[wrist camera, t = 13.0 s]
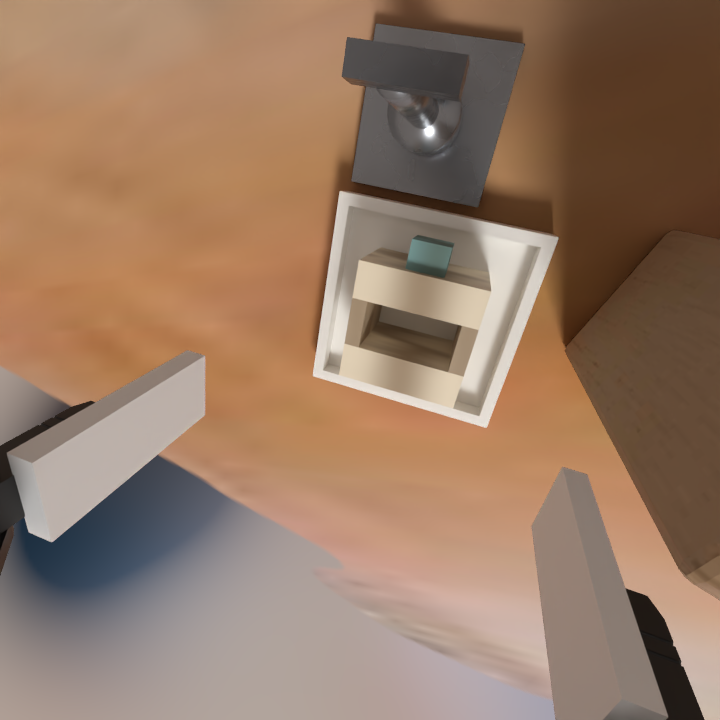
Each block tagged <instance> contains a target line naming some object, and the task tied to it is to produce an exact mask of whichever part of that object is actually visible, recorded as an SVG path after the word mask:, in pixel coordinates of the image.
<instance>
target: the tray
mask: <svg viewBox="0 0 720 720" xmlns="http://www.w3.org/2000/svg"><path fill="white" fill-rule="evenodd" d="M417 235H421V236H425V237H430V238H434V239H439V240H443V241H448V242H452V243H455V244H454V247H453V251H452V255H451V258H450V262H449V263H450V264H454V265H459V266H463V267H467V268H472V269H476V270H480V271H485V272H489V274H490V283H491V294H490V297H489V301H488V304H487V307H486V310H485V313H484V316H483V319H482V322H481V325H480V328H479V331H478V334H477V337H476V340H475V343H474V346H473V349H472V352H471V356H470V359H469V362H468V365H467V368H466V371H465V374H464V377H463V380H462V383H461V386H460V389H459V392H458V395H457V398H456V401H455V404H454V408H450V407H446V406H443V405H440V404H436V403H433V402H429V401H426V400H422V399H419V398H416V397H412V396H409V395H405V394H402V393H399V392H395V391H392V390H388V389H385V388H381V387H378V386H375V385H371V384H368V383H364V382H361V381H358V380H354V379H351V378H347V377H344V376H340V375H339V371H340V365H341V360H342V354H343V348H344V343H345V337H346V331H347V326H348V320H349V314H350V308H351V303H352V297H353V291H354V286H355V280H356V274H357V269H358V263H359V260H360V259H362V258H363V257H365V256H367V255H368V254H370V253H372V252H374V251H375V250H377V249H379V248H385V249H390V250H394V251H398V252H403V253H407V254H409V250H410V246H411V242H412V239H413V238H414V237H415V236H417ZM558 239H559V237H557V236H556V235H554V234H550V233H546V232H541V231H536V230H531V229H527V228H522V227H517V226H513V225H508V224H503V223H498V222H494V221H489V220H484V219H479V218H475V217H470V216H465V215H461V214H456V213H451V212H446V211H442V210H437V209H432V208H428V207H423V206H418V205H413V204H409V203H404V202H399V201H394V200H390V199H385V198H380V197H376V196H371V195H366V194H361V193H357V192H352V191H340V193H339V199H338V206H337V213H336V220H335V227H334V234H333V240H332V247H331V254H330V261H329V268H328V275H327V281H326V288H325V295H324V302H323V309H322V316H321V322H320V329H319V336H318V343H317V350H316V357H315V363H314V370H313V376H314V377H318V378H321V379H324V380H328V381H331V382H334V383H338V384H341V385H344V386H348V387H351V388H354V389H358V390H361V391H364V392H368V393H371V394H375V395H378V396H381V397H385V398H388V399H391V400H395V401H398V402H401V403H405V404H408V405H411V406H415V407H418V408H421V409H425V410H428V411H432V412H435V413H438V414H442V415H445V416H448V417H452V418H455V419H458V420H462V421H465V422H468V423H472V424H475V425H478V426H482V427H485V428H487V425H488V423H489V420H490V417H491V415H492V412H493V410H494V407H495V404H496V402H497V399H498V396H499V394H500V391H501V389H502V386H503V383H504V381H505V378H506V375H507V373H508V370H509V368H510V365H511V362H512V360H513V357H514V354H515V352H516V349H517V347H518V344H519V341H520V339H521V336H522V333H523V331H524V328H525V326H526V323H527V320H528V318H529V315H530V312H531V310H532V307H533V305H534V302H535V299H536V297H537V294H538V291H539V289H540V286H541V284H542V281H543V278H544V276H545V273H546V270H547V268H548V265H549V263H550V260H551V257H552V255H553V252H554V249H555V247H556V244H557V242H558ZM379 321H380V322H383V323H387V324H391V325H395V326H399V327H402V328H406V329H410V330H414V331H418V332H421V333H425V334H429V335H433V336H436V337H440V338H444V339H448V340H452V341H454V338H455V334H456V331H457V328H458V325H457V324H453V323H449V322H445V321H441V320H437V319H433V318H429V317H426V316H422V315H418V314H414V313H410V312H406V311H402V310H398V309H394V308H391V307H387V306H383V305H382V309H381V313H380V318H379Z"/></svg>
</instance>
